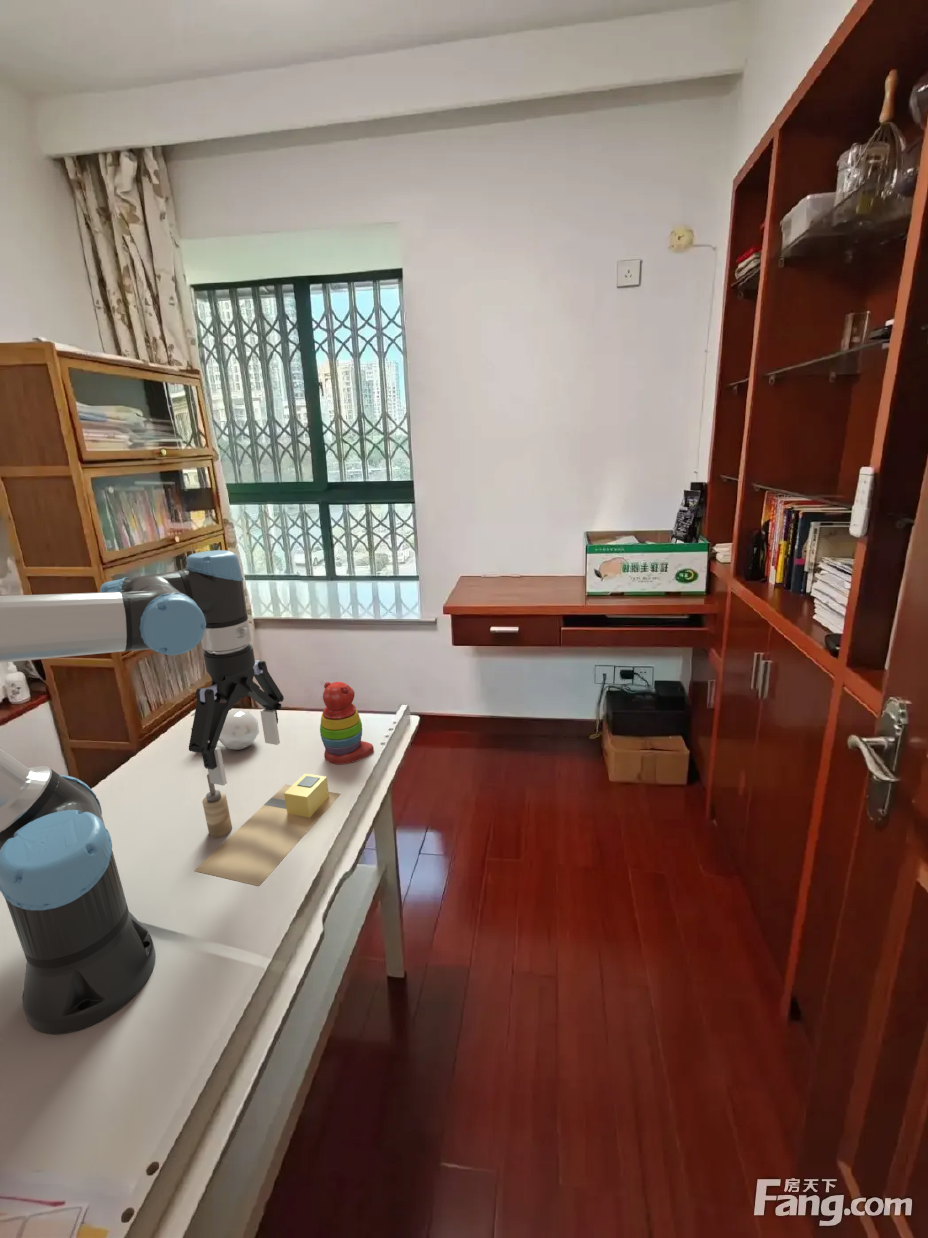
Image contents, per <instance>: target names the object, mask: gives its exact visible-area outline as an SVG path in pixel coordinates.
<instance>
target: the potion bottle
mask: <svg viewBox="0 0 928 1238" xmlns="http://www.w3.org/2000/svg"><path fill="white" fill-rule="evenodd" d="M191 730H192V727H191ZM259 734H260V728H259V720H258V719H257V718H256V717H255V716H254V715H253V714H252V713H251V712H250V711H249V710H242V709H237V708H236V709H235V708H234V709H233V710H230V711H228V714H227V717H226V720H225V723H224V726H223V728H222V731H221V734H220V737H219V740H218V742H219V741H220V743H221V745H222V746H224V748H226V749H228V750H229V749H230V750H237V751H242V750H244V749H245V748H247V747H250V746H252V745H253V744H254V742H255V740H256V739H257V737H258V735H259ZM209 742H210V741H209V740H208V743H209Z"/></svg>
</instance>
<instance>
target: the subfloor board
mask: <svg viewBox="0 0 928 1238" xmlns="http://www.w3.org/2000/svg"><path fill="white" fill-rule="evenodd" d="M291 786H292V784H291V785H290V784H284V785H283V786H282V787H281V788H280V789H279V790H278V791H277V792H276V793H274V794H273V796H272V797H271V798H269V799H268V800H267V801H266V802H265V803H264V804H263V805H262V806H261V807H260V808H259V809H258V810H257V811H256V812H255V813H254V814H253V815H252V816H251V817H250V818H248V819H247V820H246V821H245V822H244V823H243V824H242V825H240V827H239V828H238V829H237V830H235V832H234V833H233V834H232V835H230V836H229V837H228V838H227V839H226V840H225V841H224V842H223V843H221V845H219V847H218V848H216V850H214V851H213V852H212V853H211V854H210V855H209V856H208V857H206V859H205V860H204V861H203V862H202V863H200V865H198V866H197V868H195V869H194V872H197V873H201V874H204V875H209V876H210V875H211V876H215V877H218V878H222V879H226V880H227V879H228V880H232V881H235V882H239V883H244V884H248V885H252V886H256V887H260V886H261V885H262V884H263V882H264V881H266V879H267V878H268V877H269V875H271V874H272V872H273V871H275V869H276V868H277V867H278V866H279V865H280V863H282V861H283V860H284V859H285V858H286V857H287V855H288V854H290V852H291V851H292V850H293V849H294V848H295V846H296V845H297V844H298V843H299V842H300V841H301V840H302V838H303V837H304V836H305V835H306V834H307V833H308V832H309V830H310V829H311V828H312V827H313V826H314V825H315V824H316V823H317V821H319V819H320V818H321V817H322V816H323V815H324V813H326V811H327V810H328V809H329V808H330V807H331V806H332V805H333V804H334V802H335V801H336V800H337V799H338V798H339V797H340V796H341V793H339V792H333V791H329V797H328V798H327V799H326V800H325V802H324V803H323V804H322V805H321V806H320V807H319V808H318V809H317V810H316V811H315V813H314V814H313V815H312V816H311V817H310V818H309V817H304V816H298V815H293V814H288V813H287V808H286V802H285V796H284V793H285V792H286V791H287V790H288V789H289V788H290V787H291Z"/></svg>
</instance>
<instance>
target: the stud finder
mask: <svg viewBox="0 0 928 1238" xmlns="http://www.w3.org/2000/svg"><path fill="white" fill-rule="evenodd" d="M329 792H330V791H329V784H328V777H327V776H324V775H317V774H311V773H304V774H303V775H301V776H300V777H299V779H298V780H296V781H295V782H294V783H293V784H291V787H290V788H289V789H288V790H287V791H286V792H285V793H284V796H285V802H286V808H287V813H288V814H293V815H298V816H304V817H309V818H310V817H311V816H312V815H313V814H314V813H315V811H316V810H317V809H318V808H319V807H320V806H321V805H322V804H323V803H324V802H325V800H326V799H327V798H328V797H329Z"/></svg>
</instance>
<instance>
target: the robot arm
mask: <svg viewBox="0 0 928 1238" xmlns="http://www.w3.org/2000/svg"><path fill="white" fill-rule="evenodd" d="M249 623H250V622H249V617H248V612H247V602H246V596H245V587H244V578H243V575H242V570H241V566H240V562H239V557H238V556H237V554H236V553H235V552H233V551H230V550H224V549H222V550H221V549H220V550H219V549H218V550H217V549H216V550H207V551H206V550H205V551H200V552H195V553H191V554H189V555H188V556H187V557H186V565H185V568H183V569H182V568H181V569H180V570H176V571H175V570H173V571H168V572H167V571H166V572H160V573H154V574H146V575H139V576H133V577H132V576H131V577H128V576H125V577H122V578H121V579H120V578H119V579H115V580H110V581H106V582H105V581H104V583H102V584H101V585H100V587H99V592H81V593H78V592H77V593H75V592H74V593H51V594H50V593H49V594H47V593H46V594H22V595H21V594H20V595H15V594H13V595H0V664H2V663H12V662H20V661H21V662H22V661H35V660H43V659H45V660H46V659H55V658H57V659H58V658H65V657H77V656H86V655H87V656H88V655H97V654H98V655H99V654H108V653H110V654H111V653H119V652H120V653H121V652H130V651H131V652H132V651H134V652H135V651H144V650H152V651H153V652H157V653H159V654H163V655H167V656H179V655H183V654H186V653H188V652H190V651H192V650H193V649H195V648H196V647H197V646H198V645H199V644H200V643H201V647H202V648H201V649H202V650H204V651H203V658H204V659H203V660H204V666H205V670H206V673H208V675H209V677H210V678H211V683H210V686H208V687H205V688H204V687H198V688H196V690H195V698H196V707H195V711H194V715H193V716H194V717H193V722H192V727H191V728H192V729H191V733H190V740H189V744H188V751H189V752H193V753H198V754H201V756H202V761H203V766H204V768H205V769H206V770H207V771H208V773H207V774H209V778H210V783H214V785H218V786H225V785H227V784H228V781H227V776H226V772H225V766H224V760H223V753H222V749H221V747H219V746H217V745H218V743H219V741H218V740H219V737H220V734H221V731H222V728H223V726H224V723H225V720H226V717H227V714H228V713H229V712H230V711H232V709H233V707H234V704H236V703H239V701H240V700H241V699H244V698H246V697H250V698H251V699H252V700H253V701H255V702H256V703H258V705H260V706H261V707H263V708H262V709H261V710H259V711H260V719H261V724H262V731H263V736H264V742H265V744H269V745H276V746H278V745H280V744H281V742H280V741H281V740H280V735H279V728H278V724H279V718H278V711H279V710H281V709H282V703H281V702H283V701H284V699H285V697H284V695H283V693H282V692H281V690H280V688H279V687H278V685H277V684H276V682H275V681H274V679H273V678H272V676H271V674H270V672H269V670H268V666H267V662H266V661H264V660H259V659H258V660H256V659H255V653H254V646H253V644H251V642H252V636H251V629H250V628H251V627H250V624H249ZM254 679H255V680H256V682H257V683H258V684H257V683H256V682H255V681H254ZM220 701H222V702H220ZM208 740H209V741H210V742H209V743H208ZM102 811H103V810H102V805H101V803H100V801H99V798H97V794H96V793H95V792H94V790H92V788H91V787H90V786H89V785H88V784H87V783H85V782H84V781H82V780H81V779H78V778H77V777H74V776H71V775H66V774H65V775H64V774H59V773H57V772H56V771H54V770H53V769H52V768H50V767H49V766H47V765H39V766H32V767H28V766H26V765H25V764H23V762H21V761H19V760H18V759H16V758H15V757H13V756H12V755H11V754H10V753H8V752H6V751H5V750H3V749H2V748H1V747H0V893H1V894H2V896H3V898H4V900H5V902H6V906H7V909H8V912H9V914H10V916H11V919H12V923H13V925H14V928H15V930H16V931H15V932H16V935H17V937H18V940H19V942H20V945H21V946H20V947H21V949H22V952H23V953H24V958H25V960H26V964H25V972H24V973H25V974H24V983H23V985H24V986H23V991H22V997H21V1001H22V1007H23V1011H24V1014H25V1016H26V1019H27V1020H28V1021H27V1022H28V1023H29V1025H30V1026H31V1027H32V1028H33V1029H34V1030H35V1031H36V1030H37V1031H39V1032H41V1033H45V1034H50V1035H51V1034H52V1035H54V1034H55V1035H56V1034H58V1035H60V1034H66V1033H67V1034H68V1033H73V1032H76V1031H79V1030H83V1029H85V1028H88V1027H90V1026H92V1025H95V1024H97V1023H99V1022H101V1021H103V1020H104V1019H106V1018H108V1017H110V1016H111V1015H112V1014H114V1013H116V1012H117V1011H118V1010H120V1009H122V1008H123V1007H124V1006H125V1005H126V1004H127V1003H128V1002H129V1001H131V1000H132V999H133V997H135V996H136V995H137V994H138V993H139V991H140V990H141V989H142V988H143V987H144V985H145V984H146V982H147V981H148V980H149V978H150V976H151V974H152V973H153V969H154V967H155V963H156V950H155V946H154V943H153V939H152V936H151V935H150V933H149V932H148V930H147V929H146V928H145V927H144V926H143V924H141V922H140V921H139V920H138V919H137V918H136V917H135V916H134V915H133V913H131V912H130V910H129V907H128V903H127V900H126V896H125V891H124V888H123V885H122V880H121V878H120V873H119V870H118V869H119V868H118V867H117V863H116V859H115V854H114V852H113V842H112V836H111V835H110V832H109V830H108V828H106V826H105V822H104V819H103V812H102Z"/></svg>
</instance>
